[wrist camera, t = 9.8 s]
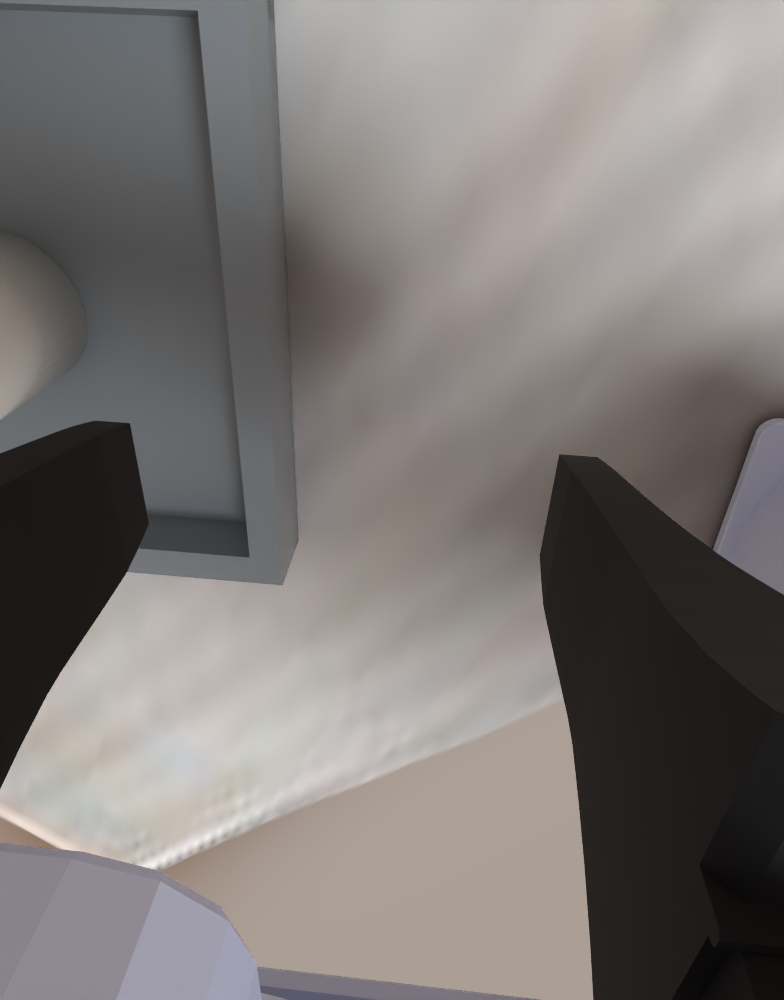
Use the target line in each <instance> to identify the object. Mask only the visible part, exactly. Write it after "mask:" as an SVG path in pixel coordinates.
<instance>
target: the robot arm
mask: <svg viewBox="0 0 784 1000" xmlns="http://www.w3.org/2000/svg"><path fill="white" fill-rule="evenodd" d="M148 525H149V521H148V516H147V511H146V505H145V500H144V495H143V490H142V484H141V479H140V474H139V468H138V463H137V458H136V452H135V447H134V442H133V437H132V431H131V426H130V423H122V422H108V421H91V422H87V423H82V424H79V425H76V426H72V427H69V428H66V429H63V430H61V431H58V432H55V433H52V434H50V435H47V436H44V437H42V438H39V439H36V440H34V441H31V442H28V443H26V444H23V445H21V446H18V447H16V448H13V449H10V450H8V451H5V452H3V453H0V788H1V786H2V784H3V782H4V780H5V778H6V776H7V773H8V771H9V769H10V767H11V765H12V763H13V761H14V759H15V757H16V754H17V752H18V750H19V748H20V746H21V744H22V742H23V740H24V738H25V736H26V734H27V733H28V731H29V729H30V727H31V725H32V723H33V721H34V719H35V717H36V715H37V713H38V711H39V709H40V707H41V705H42V703H43V701H44V700H45V698H46V696H47V694H48V692H49V691H50V689H51V687H52V686H53V684H54V682H55V681H56V679H57V677H58V676H59V674H60V672H61V671H62V669H63V668H64V666H65V665H66V663H67V662H68V660H69V659H70V657H71V656H72V654H73V653H74V651H75V650H76V648H77V647H78V645H79V644H80V642H81V641H82V639H83V638H84V636H85V635H86V633H87V632H88V630H89V629H90V627H91V626H92V624H93V623H94V621H95V620H96V618H97V617H98V615H99V614H100V612H101V611H102V610H103V608H104V607H105V605H106V603H107V602H108V600H109V599H110V597H111V596H112V594H113V593H114V591H115V590H116V588H117V587H118V585H119V584H120V582H121V580H122V579H123V577H124V576H125V574H126V572H127V571H128V569H129V567H130V565H131V563H132V561H133V559H134V557H135V555H136V552H137V550H138V548H139V546H140V544H141V541H142V539H143V537H144V534H145V532H146V530H147V527H148ZM540 565H541V581H542V594H543V605H544V610H545V615H546V620H547V625H548V629H549V634H550V639H551V643H552V648H553V652H554V657H555V661H556V666H557V670H558V675H559V679H560V684H561V688H562V693H563V698H564V702H565V706H566V711H567V715H568V721H569V726H570V732H571V738H572V744H573V752H574V762H575V771H576V780H577V790H578V799H579V810H580V821H581V832H582V843H583V854H584V864H585V876H586V890H587V905H588V917H589V931H590V946H591V963H592V981H593V998H594V1000H784V419H782V418H776V419H770V420H768V421H766V422H764V423H763V424H761V425H760V426H759V427H758V429H757V431H756V432H755V435H754V438H753V441H752V443H751V446H750V449H749V452H748V454H747V457H746V460H745V463H744V465H743V468H742V471H741V474H740V476H739V479H738V482H737V485H736V488H735V490H734V493H733V496H732V499H731V501H730V504H729V507H728V510H727V512H726V515H725V518H724V521H723V523H722V526H721V529H720V532H719V534H718V537H717V540H716V543H715V545H714V548H713V550H712V549H711V548H709V547H708V546H707V545H705V544H704V543H702V542H701V541H700V540H698V539H697V538H696V537H694V536H693V535H692V534H690V533H689V532H687V531H686V530H685V529H684V528H682V527H681V526H680V525H678V524H677V523H676V522H675V521H673V520H672V519H671V518H670V517H668V516H667V515H666V514H665V513H664V512H662V511H661V510H660V509H659V508H657V507H656V506H655V505H654V504H653V503H652V502H650V501H649V500H648V499H647V498H646V497H644V496H643V495H642V494H641V493H640V492H639V491H638V490H636V489H635V488H634V487H633V486H632V485H631V484H629V483H628V482H627V481H626V480H625V479H624V478H623V477H621V476H620V475H619V474H618V473H617V472H616V471H614V470H613V469H612V468H611V467H610V466H608V465H607V464H606V463H605V462H603V461H602V460H601V459H599V458H598V457H587V456H573V455H560V454H559V459H558V464H557V469H556V475H555V480H554V485H553V490H552V495H551V500H550V506H549V511H548V516H547V521H546V526H545V532H544V537H543V542H542V547H541V552H540ZM0 1000H538V999H529V998H521V997H513V996H504V995H495V994H487V993H478V992H470V991H461V990H453V989H444V988H436V987H426V986H418V985H410V984H401V983H392V982H384V981H376V980H367V979H358V978H350V977H341V976H333V975H324V974H316V973H307V972H298V971H290V970H282V969H273V968H264V967H257V963H256V962H255V960H254V958H253V956H252V955H251V953H250V951H249V950H248V948H247V946H246V945H245V943H244V942H243V940H242V939H241V937H240V935H239V934H238V932H237V931H236V929H235V928H234V927H233V925H232V923H231V922H230V920H229V919H228V917H227V916H226V914H225V913H224V911H223V910H222V908H221V907H220V906H219V905H217V904H216V903H214V902H212V901H210V900H209V899H207V898H205V897H204V896H202V895H200V894H198V893H197V892H195V891H193V890H192V889H190V888H188V887H186V886H185V885H183V884H181V883H180V882H178V881H176V880H175V879H173V878H171V877H169V876H168V875H166V874H164V873H163V872H161V871H157V870H153V869H149V868H145V867H141V866H137V865H133V864H129V863H125V862H121V861H117V860H113V859H109V858H105V857H101V856H97V855H93V854H89V853H85V852H79V851H70V850H60V849H51V848H42V847H33V846H23V845H14V844H5V843H0Z"/></svg>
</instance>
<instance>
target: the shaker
mask: <svg viewBox="0 0 784 1000" xmlns="http://www.w3.org/2000/svg"><path fill="white" fill-rule="evenodd" d="M86 338H87V322H86V316H85V312H84V308H83V305H82V302H81V300H80V297H79V295H78V293H77V291H76V289H75V287H74V285H73V283H72V282H71V281H70V279H69V278H68V276H67V275H66V273H65V272H64V271H63V270H62V269H61V267H60V266H59V265H58V264H57V263H56V262H55V261H54V260H53V259H52V258H51V257H50V256H49V255H48V254H46V253H45V252H44V251H43V250H41V249H40V248H38V247H37V246H35V245H34V244H32V243H31V242H29V241H27V240H25V239H23V238H21V237H19V236H16V235H13V234H11V233H7V232H3V231H0V420H1V419H3V418H4V417H5V416H7V415H8V414H10V413H11V412H12V411H14V410H15V409H17V408H18V407H19V406H21V405H22V404H24V403H25V402H26V401H28V400H29V399H30V398H32V397H33V396H35V395H36V394H37V393H39V392H40V391H42V390H43V389H44V388H46V387H47V386H49V385H50V384H51V383H53V382H54V381H55V380H57V379H58V378H60V377H61V376H62V375H64V374H65V373H67V372H68V371H69V370H71V369H72V368H73V367H74V366H75V365H76V363H77V362H78V360H79V359H80V357H81V355H82V353H83V351H84V348H85V344H86Z"/></svg>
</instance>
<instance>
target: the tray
mask: <svg viewBox="0 0 784 1000" xmlns="http://www.w3.org/2000/svg"><path fill="white" fill-rule="evenodd" d="M0 231H3V232H7V233H11V234H13V235H16V236H19V237H21V238H23V239H25V240H27V241H29V242H31V243H32V244H34V245H35V246H37V247H38V248H40V249H41V250H43V251H44V252H45V253H46V254H48V255H49V256H50V257H51V258H52V259H53V260H54V261H55V262H56V263H57V264H58V265H59V266H60V267H61V269H62V270H63V271H64V272H65V273H66V275H67V276H68V278H69V279H70V281H71V282H72V283H73V285H74V287H75V289H76V291H77V293H78V295H79V297H80V300H81V302H82V305H83V308H84V312H85V316H86V322H87V338H86V344H85V348H84V351H83V353H82V355H81V357H80V359H79V360H78V362H77V363H76V365H75V366H74V367H73V368H72V369H71V370H69V371H68V372H67V373H65V374H64V375H62V376H61V377H60V378H58V379H57V380H55V381H54V382H53V383H51V384H50V385H49V386H47V387H46V388H44V389H43V390H42V391H40V392H39V393H37V394H36V395H35V396H33V397H32V398H30V399H29V400H28V401H26V402H25V403H24V404H22V405H21V406H19V407H18V408H17V409H15V410H14V411H12V412H11V413H10V414H8V415H7V416H5V417H4V418H3V419H1V420H0V453H3V452H5V451H8V450H10V449H13V448H16V447H18V446H21V445H23V444H26V443H28V442H31V441H34V440H36V439H39V438H42V437H44V436H47V435H50V434H52V433H55V432H58V431H61V430H63V429H66V428H69V427H72V426H76V425H79V424H82V423H87V422H91V421H108V422H122V423H130V426H131V431H132V437H133V442H134V447H135V452H136V458H137V463H138V468H139V474H140V479H141V484H142V490H143V495H144V500H145V505H146V511H147V516H148V521H149V525H148V527H147V530H146V532H145V534H144V537H143V539H142V541H141V544H140V546H139V548H138V550H137V552H136V555H135V557H134V559H133V561H132V563H131V565H130V567H129V569H128V571H127V572H135V573H147V574H159V575H171V576H182V577H194V578H206V579H217V580H229V581H241V582H253V583H264V584H276V585H283V582H284V579H285V576H286V574H287V571H288V568H289V565H290V562H291V559H292V557H293V554H294V551H295V548H296V545H297V543H298V523H297V501H296V480H295V458H294V436H293V414H292V392H291V371H290V349H289V327H288V305H287V284H286V262H285V240H284V218H283V196H282V175H281V153H280V131H279V109H278V88H277V66H276V44H275V22H274V0H0Z"/></svg>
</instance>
